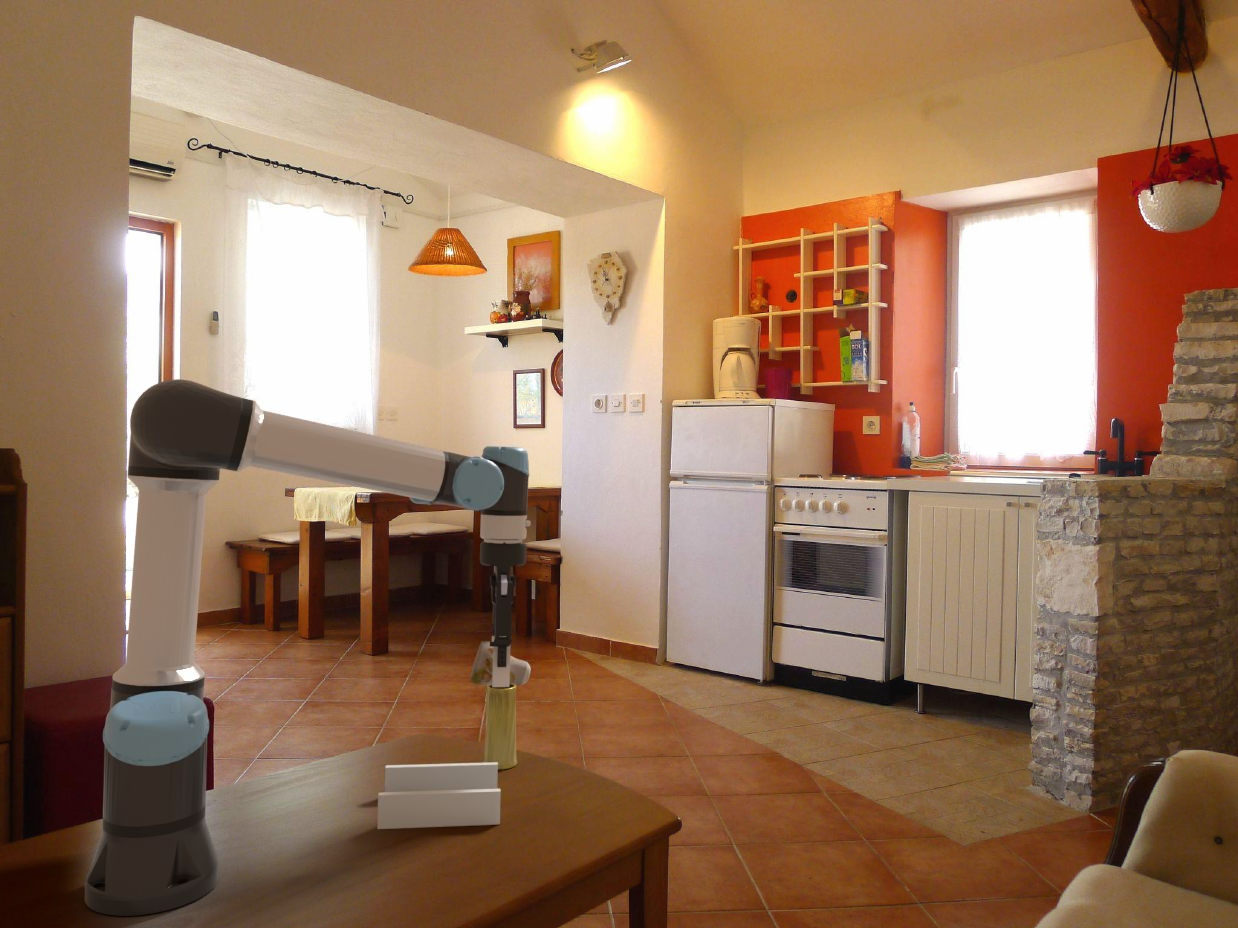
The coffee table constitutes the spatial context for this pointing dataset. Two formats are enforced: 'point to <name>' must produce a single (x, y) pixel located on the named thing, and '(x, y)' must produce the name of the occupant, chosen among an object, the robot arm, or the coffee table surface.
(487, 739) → the vase
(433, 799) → the channel
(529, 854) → the coffee table surface
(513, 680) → the mug
